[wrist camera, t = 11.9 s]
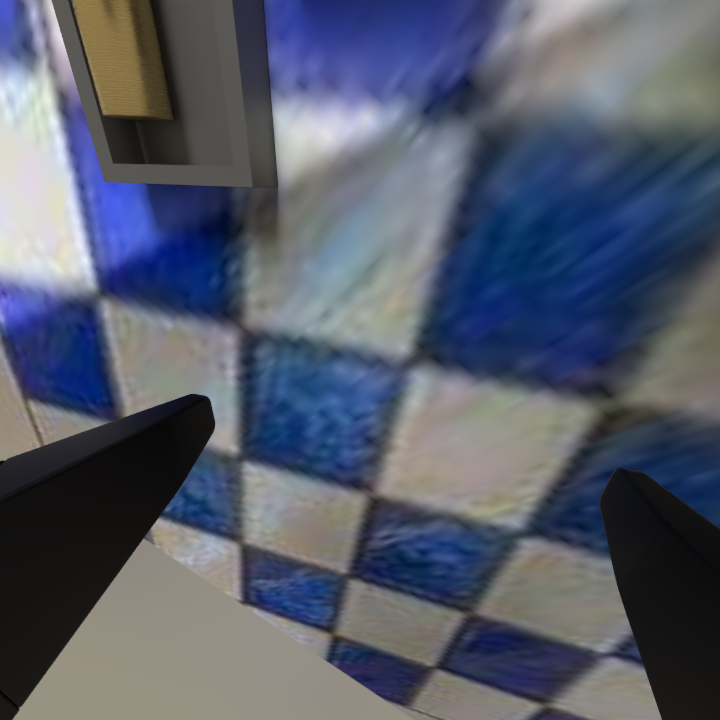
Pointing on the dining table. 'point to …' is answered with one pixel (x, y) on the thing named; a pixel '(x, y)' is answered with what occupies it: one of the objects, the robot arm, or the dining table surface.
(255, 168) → the tray
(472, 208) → the dining table surface
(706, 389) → the dining table surface
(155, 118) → the pin
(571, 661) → the dining table surface
